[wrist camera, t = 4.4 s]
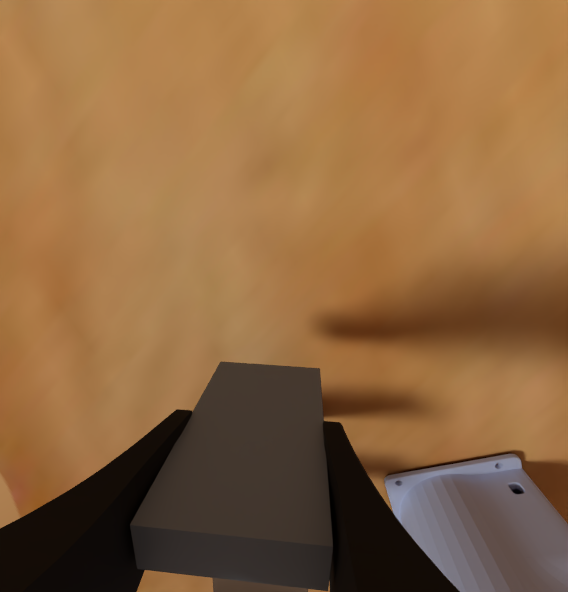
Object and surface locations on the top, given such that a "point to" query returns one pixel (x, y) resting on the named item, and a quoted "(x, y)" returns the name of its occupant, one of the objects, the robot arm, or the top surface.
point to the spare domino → (244, 484)
